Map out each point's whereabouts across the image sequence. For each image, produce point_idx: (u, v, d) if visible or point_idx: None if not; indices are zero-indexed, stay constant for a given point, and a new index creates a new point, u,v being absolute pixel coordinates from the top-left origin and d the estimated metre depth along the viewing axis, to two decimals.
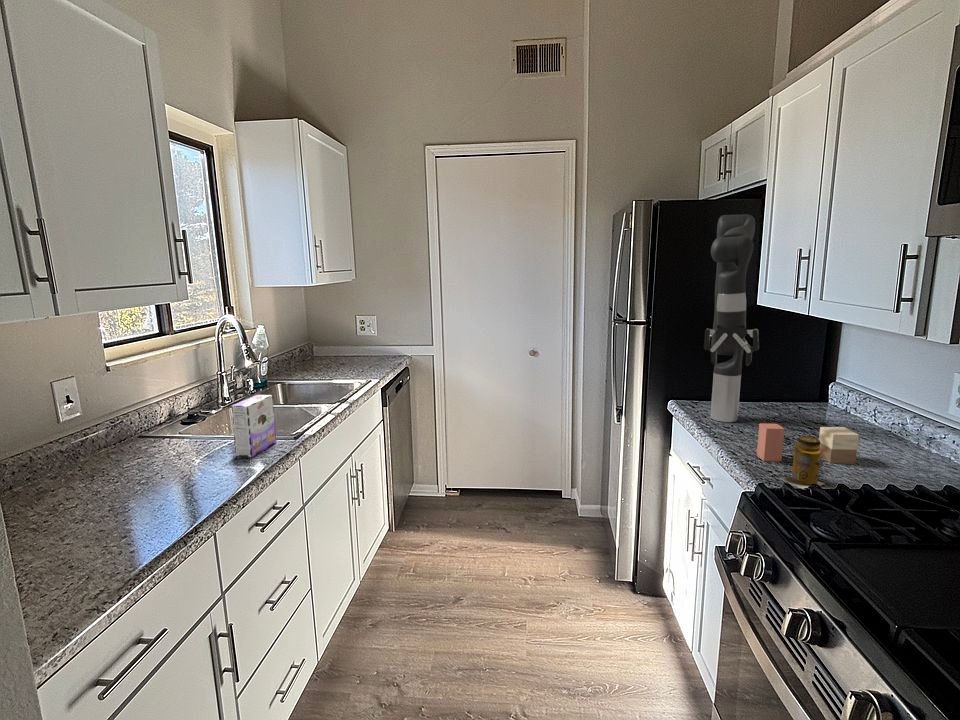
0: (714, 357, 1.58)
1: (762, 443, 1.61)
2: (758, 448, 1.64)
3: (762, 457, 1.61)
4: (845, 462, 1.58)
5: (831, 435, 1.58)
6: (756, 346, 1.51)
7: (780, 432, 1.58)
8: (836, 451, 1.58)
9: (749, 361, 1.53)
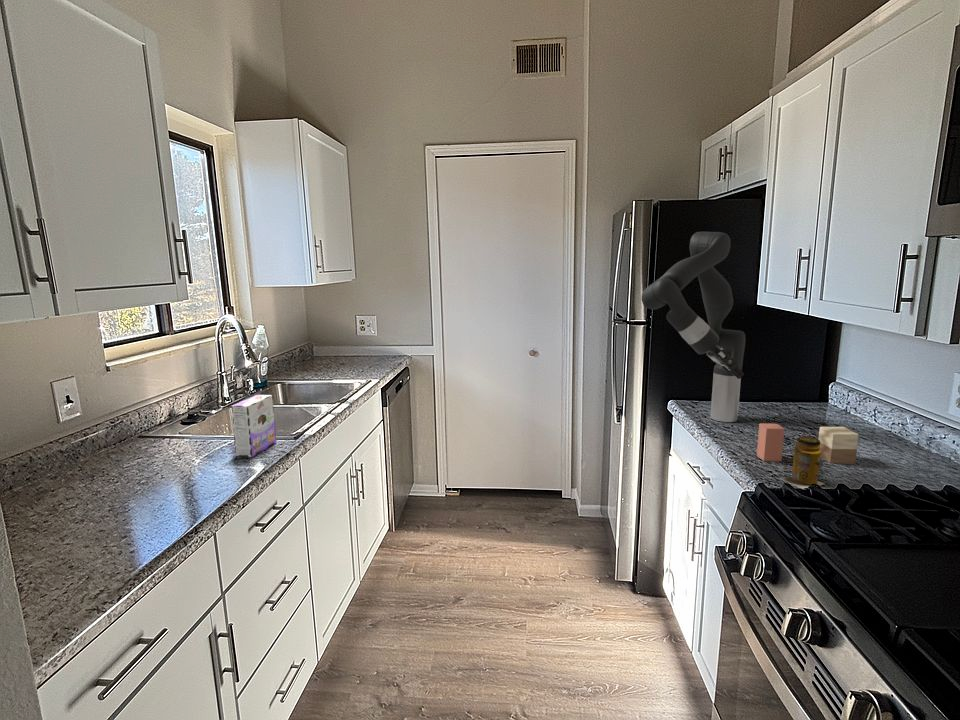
0: (722, 368, 1.63)
1: (762, 443, 1.61)
2: (758, 448, 1.64)
3: (762, 457, 1.61)
4: (845, 462, 1.58)
5: (831, 435, 1.58)
6: (727, 367, 1.52)
7: (780, 432, 1.58)
8: (836, 451, 1.58)
9: (737, 375, 1.54)
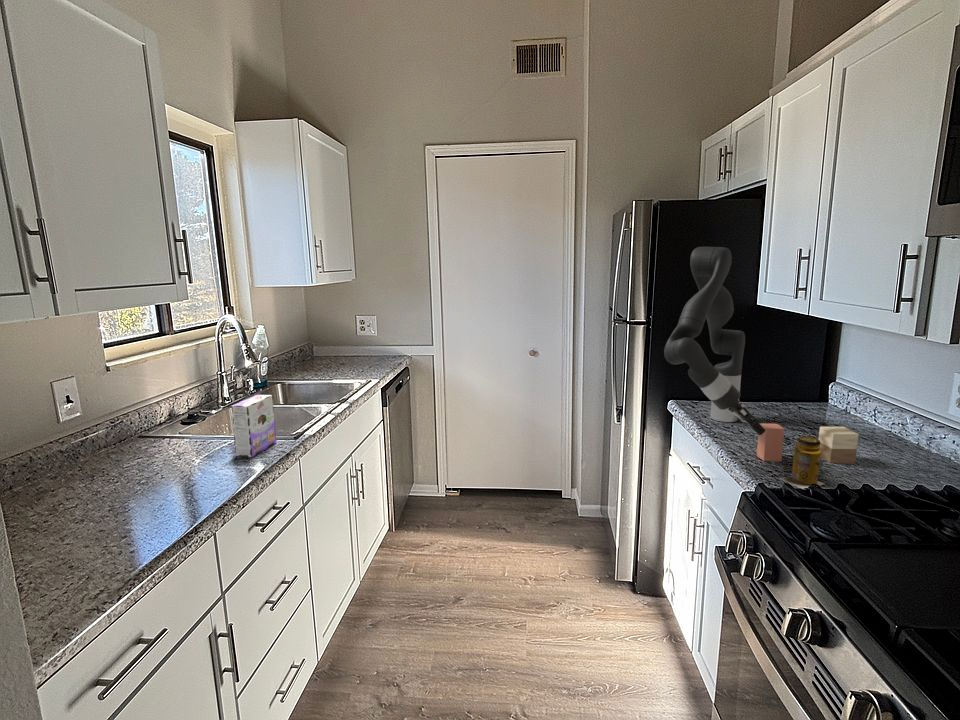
0: (743, 421, 1.66)
1: (762, 443, 1.61)
2: (758, 448, 1.64)
3: (762, 457, 1.61)
4: (845, 462, 1.58)
5: (831, 434, 1.58)
6: (749, 424, 1.55)
7: (780, 432, 1.58)
8: (836, 451, 1.58)
9: (758, 432, 1.57)
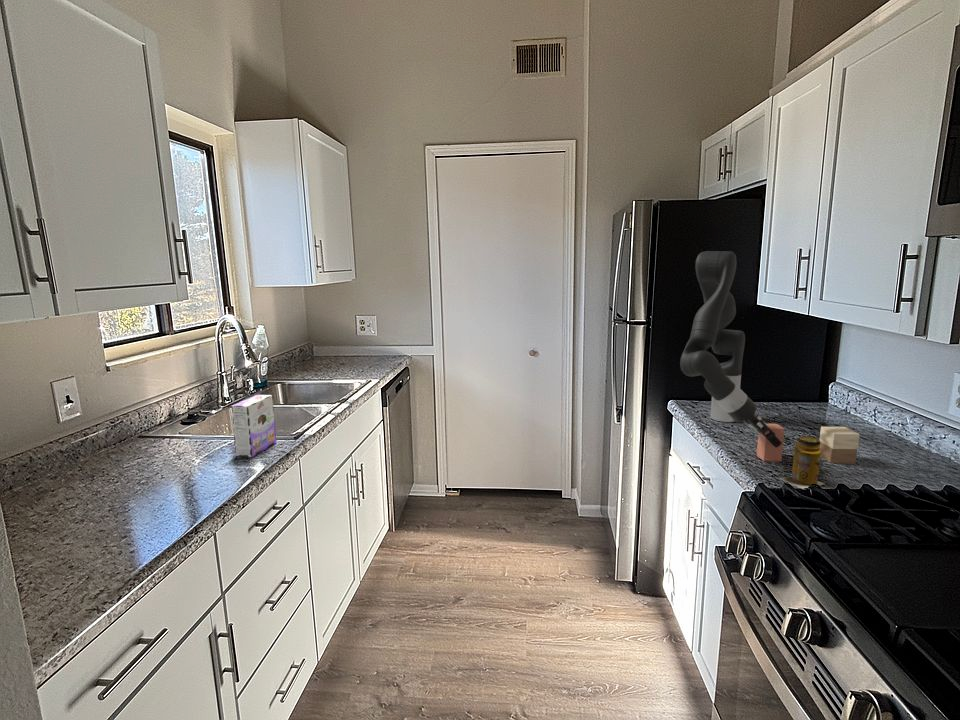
0: None
1: (762, 443, 1.61)
2: (758, 448, 1.64)
3: (762, 457, 1.61)
4: (845, 462, 1.58)
5: (832, 435, 1.58)
6: (765, 437, 1.55)
7: (780, 432, 1.58)
8: (836, 451, 1.58)
9: (774, 444, 1.57)
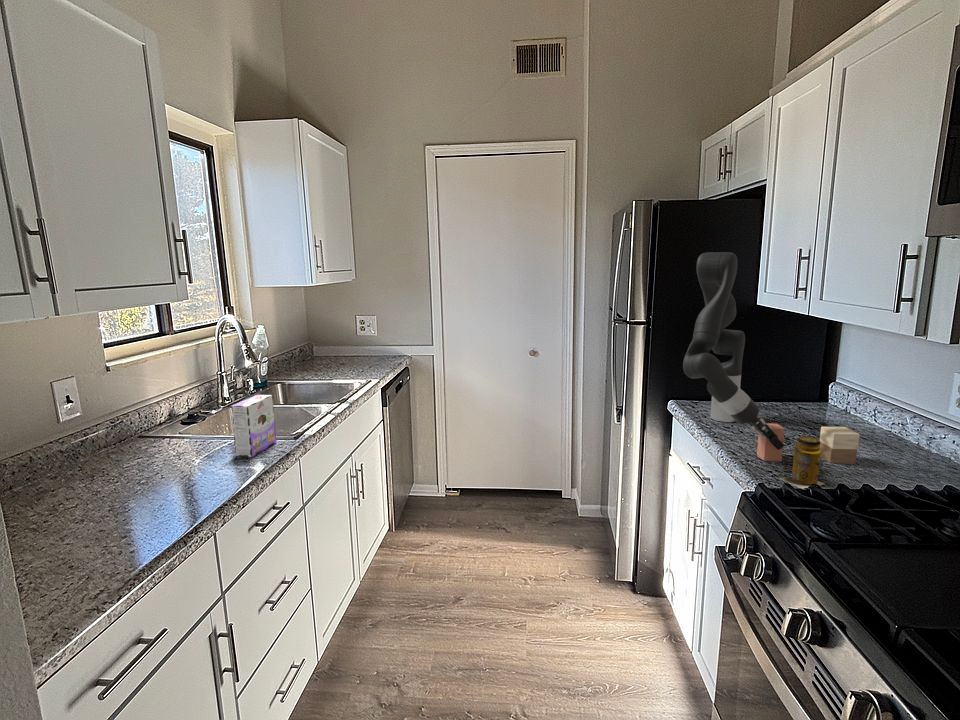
0: None
1: (762, 443, 1.61)
2: (758, 448, 1.64)
3: (762, 457, 1.61)
4: (845, 462, 1.58)
5: (832, 434, 1.58)
6: (768, 439, 1.56)
7: (780, 432, 1.58)
8: (836, 451, 1.58)
9: (777, 446, 1.58)
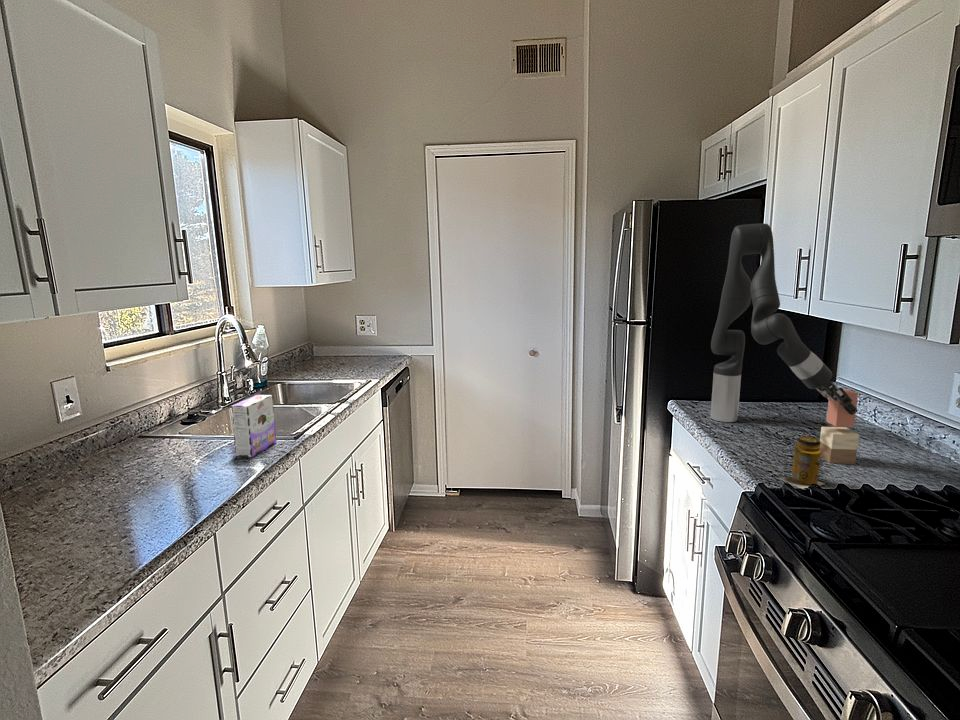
0: None
1: (833, 409, 1.58)
2: (828, 414, 1.61)
3: (834, 423, 1.58)
4: (845, 462, 1.58)
5: (831, 435, 1.58)
6: (842, 403, 1.53)
7: (853, 397, 1.55)
8: (836, 451, 1.58)
9: (850, 411, 1.55)
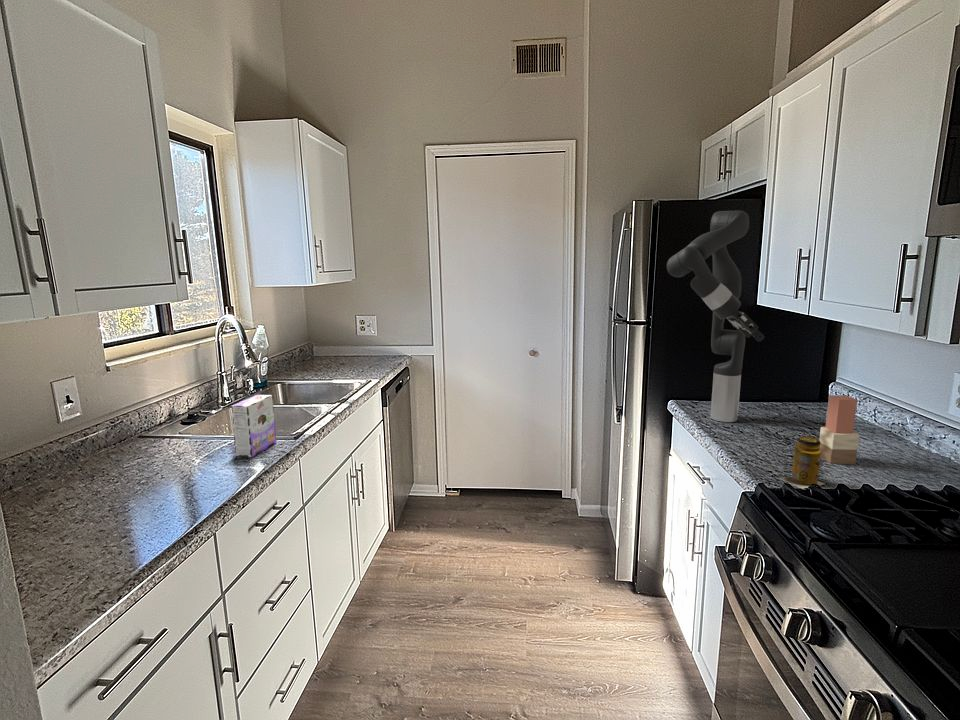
0: (743, 333, 1.72)
1: (833, 415, 1.59)
2: (828, 420, 1.61)
3: (833, 429, 1.58)
4: (845, 462, 1.58)
5: (831, 435, 1.57)
6: (749, 330, 1.61)
7: (852, 403, 1.56)
8: (836, 451, 1.57)
9: (758, 338, 1.63)
